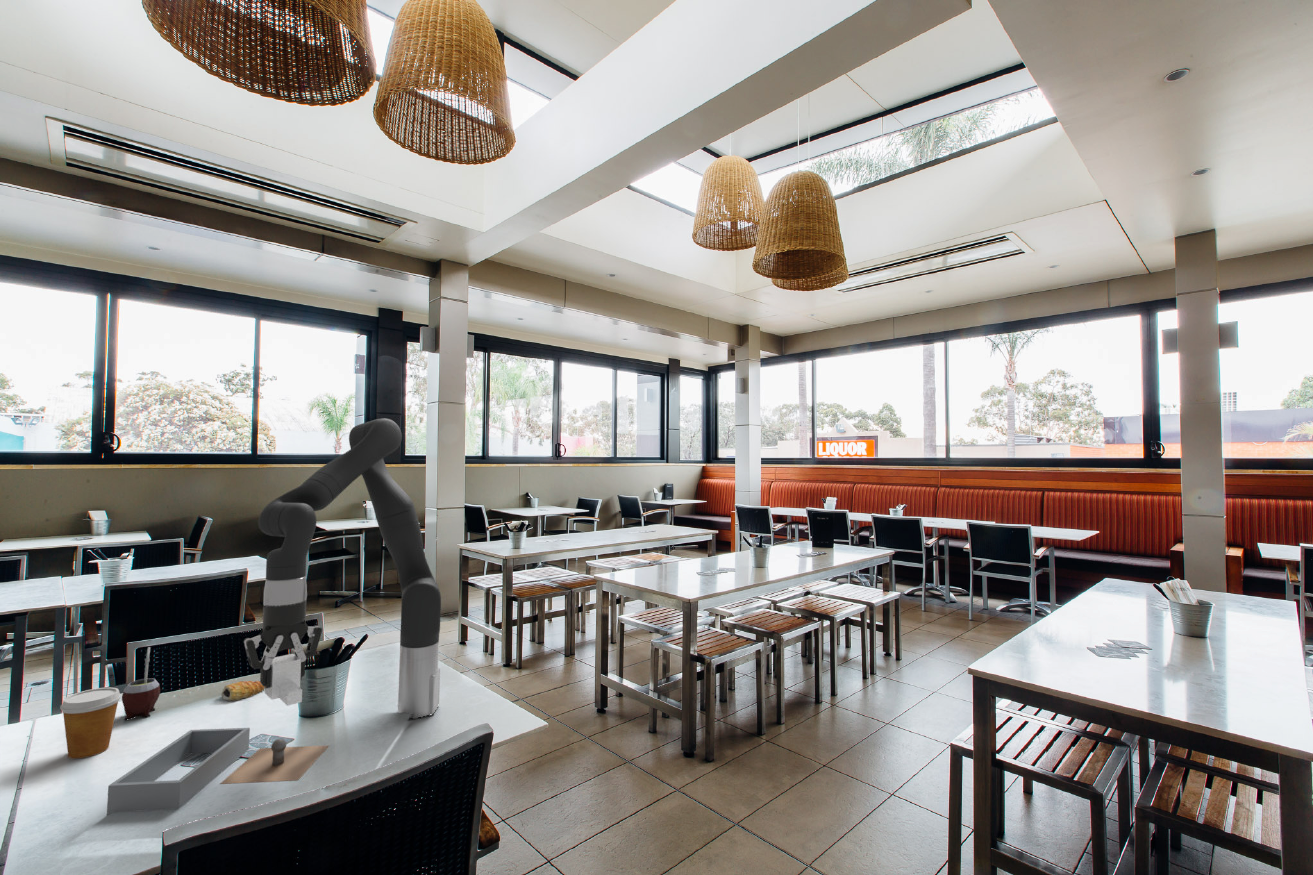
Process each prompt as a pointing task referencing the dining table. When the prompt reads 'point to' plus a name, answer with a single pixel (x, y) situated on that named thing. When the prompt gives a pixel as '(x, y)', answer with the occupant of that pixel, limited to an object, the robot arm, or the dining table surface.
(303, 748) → the stud base
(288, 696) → the strut
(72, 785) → the dining table surface
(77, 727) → the disposable coffee cup
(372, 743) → the dining table surface
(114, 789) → the bin
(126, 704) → the mate gourd
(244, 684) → the pastry
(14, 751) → the dining table surface
